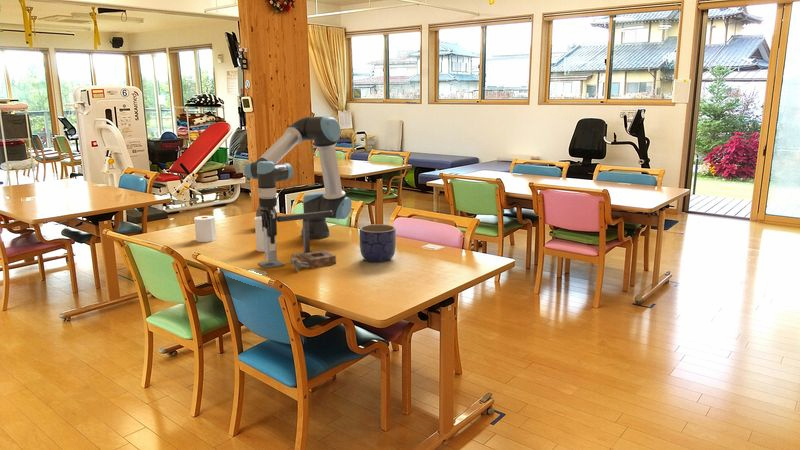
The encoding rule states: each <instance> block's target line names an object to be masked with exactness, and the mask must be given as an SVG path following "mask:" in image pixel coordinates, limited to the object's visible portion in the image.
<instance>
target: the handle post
mask: <svg viewBox="0 0 800 450" xmlns="http://www.w3.org/2000/svg"><path fill="white" fill-rule="evenodd" d="M301 221H302V227H303V237H302V243H303V252H297V253H295V257H297V258H298V259H300V254H303V253H309V252H313V251H311V243H310V242H311V241H310V239H311V238H309V221H306V222H305V221H303V220H301Z"/></svg>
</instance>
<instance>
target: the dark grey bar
mask: <svg viewBox="0 0 800 450" xmlns="http://www.w3.org/2000/svg"><path fill="white" fill-rule="evenodd" d="M332 215H333V211H331V210H329V211H321V212H312V213H304V212H303V213H297V214H294V213H293V214H287V215H277V218H276V222H277V223H281V222H293V221H300V220H301V221H305V222H306V221H308V219H310V218H319V217H328V216H332Z"/></svg>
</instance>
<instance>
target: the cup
mask: <svg viewBox="0 0 800 450" xmlns="http://www.w3.org/2000/svg"><path fill="white" fill-rule="evenodd" d="M254 226H255V227H254V229H255V244H256V246H255V247H256V251H257V252H260V253H261V252H263V253H265V249H264V232H263V231H262V217H261V216H259V217H256V216H255V217H254Z"/></svg>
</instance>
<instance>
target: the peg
mask: <svg viewBox="0 0 800 450" xmlns="http://www.w3.org/2000/svg"><path fill="white" fill-rule="evenodd" d="M263 232H264V249H265V252H264V260H265V262H266V261H267V262H273V261H277V260H278V255H277V249H276V250H274V251H269V238H268V235H269V229H268V227H263ZM276 236H277V235H276ZM276 236H275V246H276V247H277V239H276V238H277V237H276Z"/></svg>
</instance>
